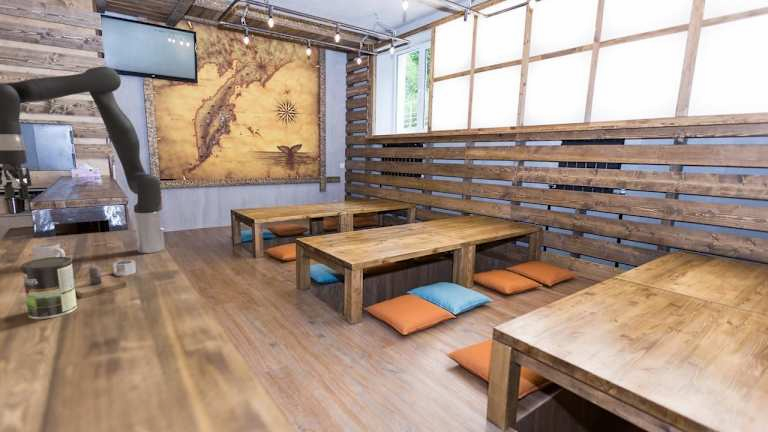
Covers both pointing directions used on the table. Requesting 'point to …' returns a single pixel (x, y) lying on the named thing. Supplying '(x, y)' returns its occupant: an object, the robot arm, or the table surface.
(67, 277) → the coffee can
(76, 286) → the post block
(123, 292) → the table surface
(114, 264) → the ring
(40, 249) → the cup
